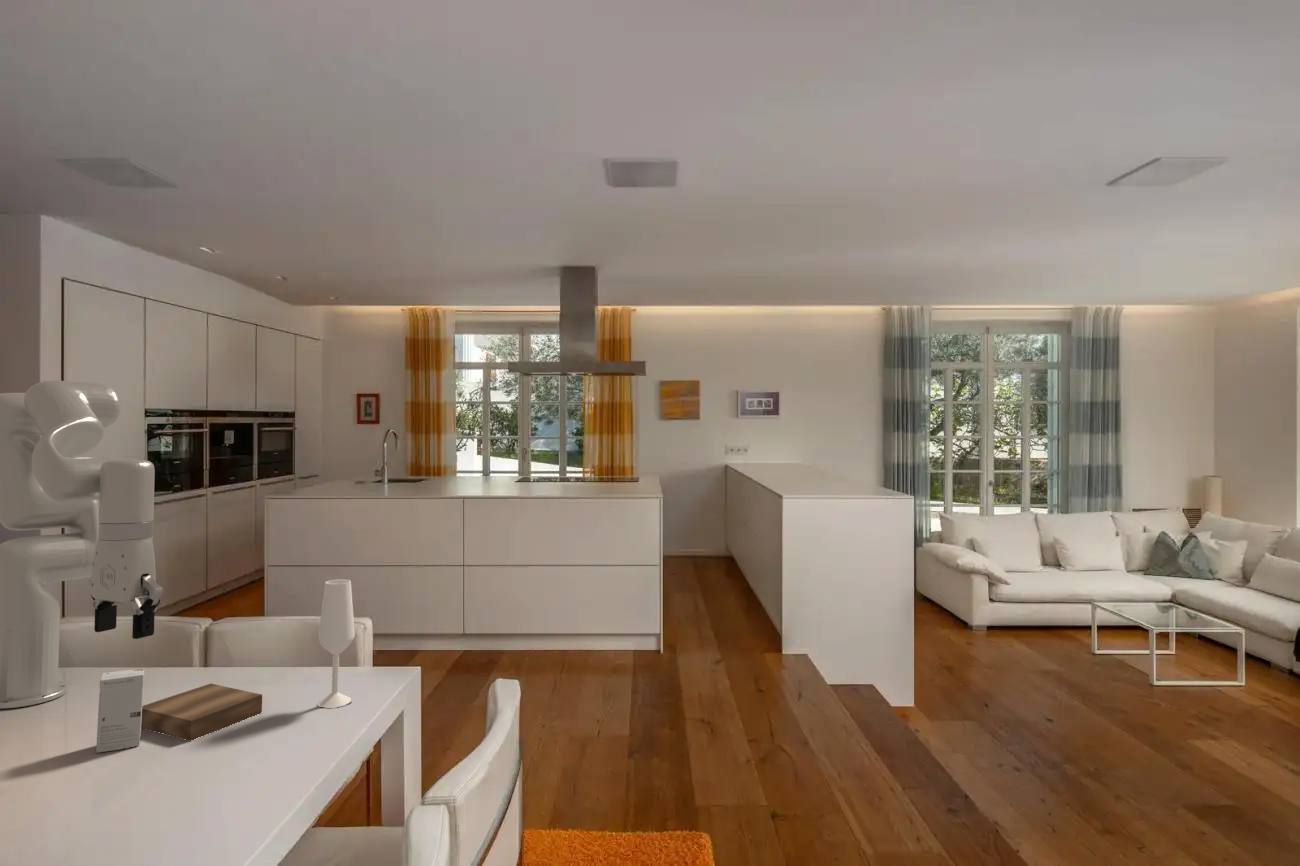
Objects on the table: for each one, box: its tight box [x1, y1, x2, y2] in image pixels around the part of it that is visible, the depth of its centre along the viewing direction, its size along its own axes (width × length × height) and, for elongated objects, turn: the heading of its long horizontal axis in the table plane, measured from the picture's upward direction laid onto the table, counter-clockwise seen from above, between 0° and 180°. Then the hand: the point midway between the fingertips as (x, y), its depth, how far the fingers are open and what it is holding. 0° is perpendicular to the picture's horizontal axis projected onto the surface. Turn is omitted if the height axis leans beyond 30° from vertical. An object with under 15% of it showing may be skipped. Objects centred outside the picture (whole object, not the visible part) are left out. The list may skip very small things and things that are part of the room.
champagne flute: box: [317, 578, 356, 707], centre depth 143 cm, size 7×7×24 cm
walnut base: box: [141, 683, 263, 742], centre depth 133 cm, size 14×14×4 cm
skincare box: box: [95, 668, 145, 754], centre depth 122 cm, size 6×4×12 cm
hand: (124, 633), depth 122 cm, fingers open, 9 cm apart
